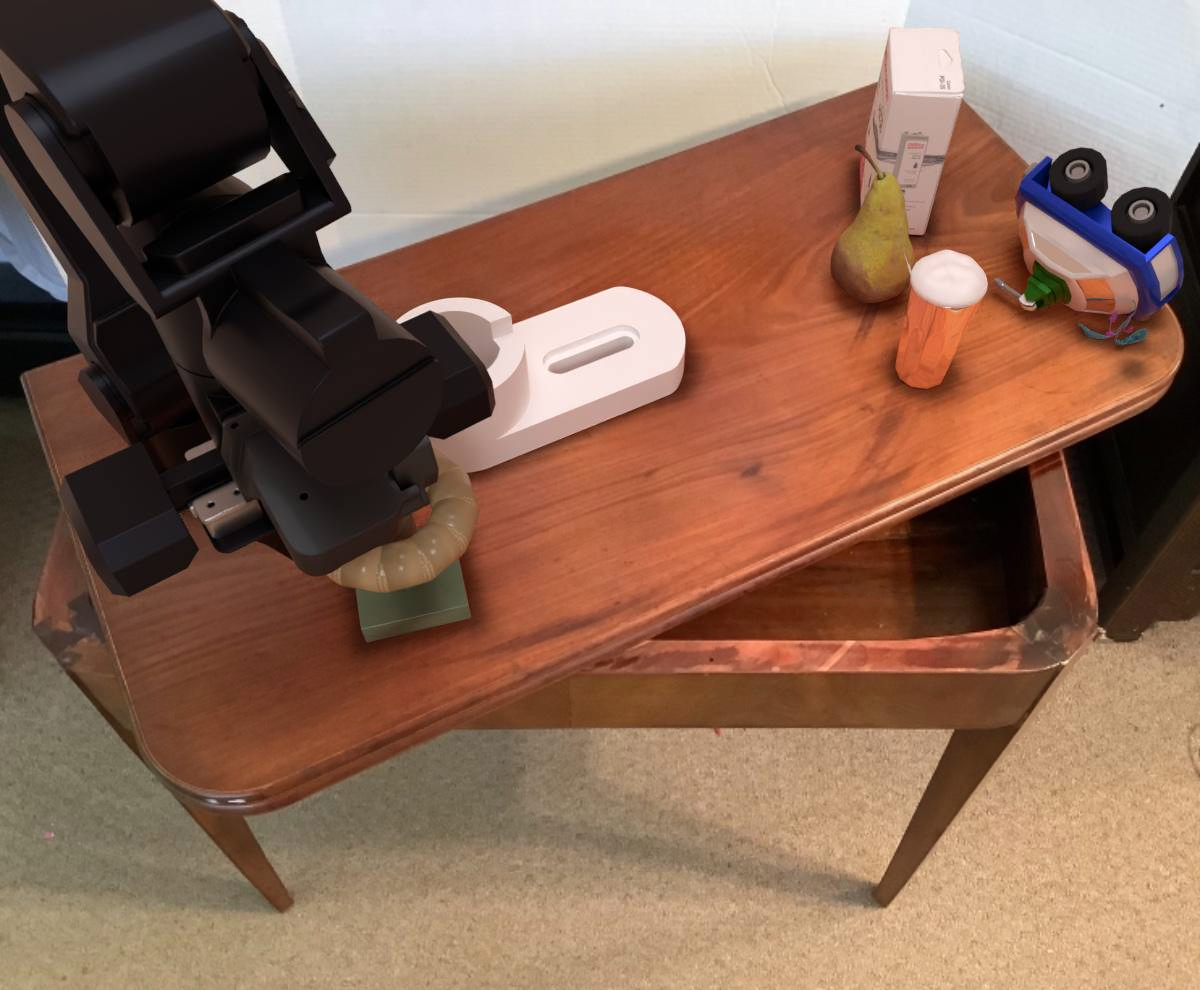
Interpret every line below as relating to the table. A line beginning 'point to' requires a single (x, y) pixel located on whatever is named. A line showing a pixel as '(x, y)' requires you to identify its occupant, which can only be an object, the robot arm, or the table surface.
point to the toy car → (1093, 240)
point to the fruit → (875, 244)
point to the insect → (1133, 338)
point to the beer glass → (937, 315)
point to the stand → (414, 601)
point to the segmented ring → (421, 539)
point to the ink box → (914, 116)
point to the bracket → (561, 368)
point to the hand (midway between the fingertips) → (330, 546)
